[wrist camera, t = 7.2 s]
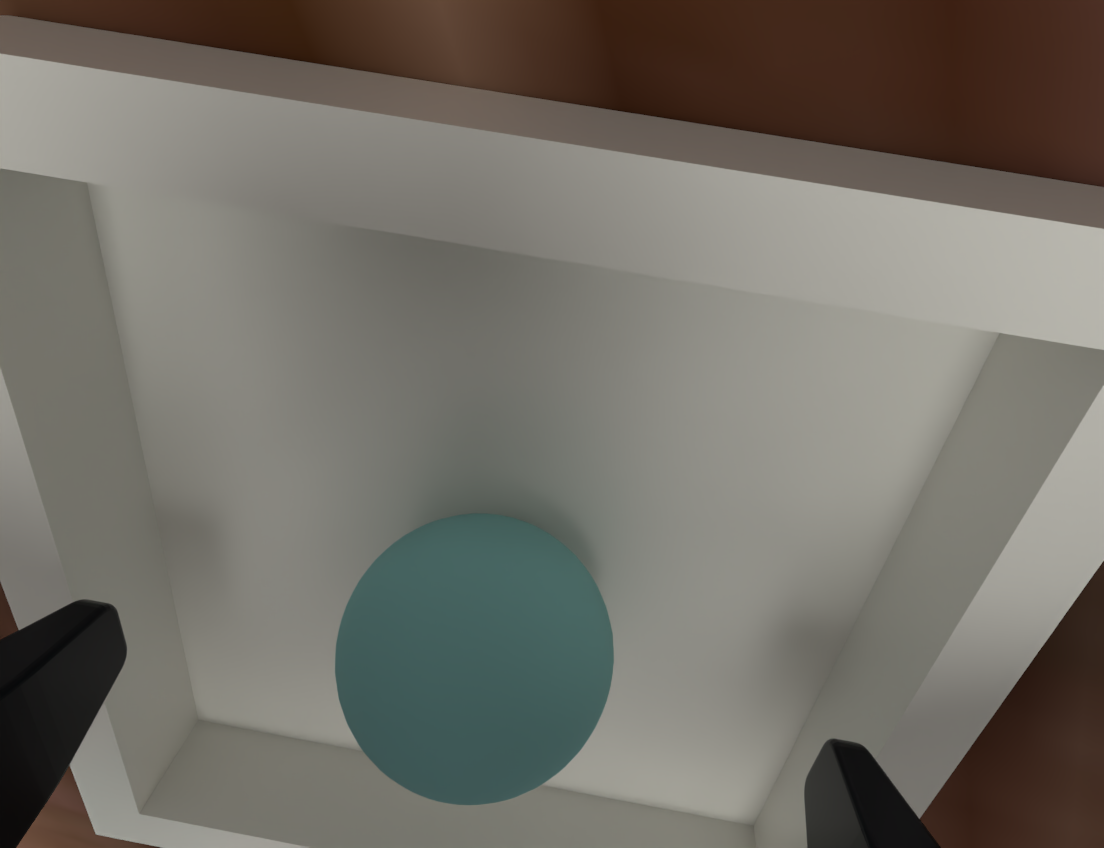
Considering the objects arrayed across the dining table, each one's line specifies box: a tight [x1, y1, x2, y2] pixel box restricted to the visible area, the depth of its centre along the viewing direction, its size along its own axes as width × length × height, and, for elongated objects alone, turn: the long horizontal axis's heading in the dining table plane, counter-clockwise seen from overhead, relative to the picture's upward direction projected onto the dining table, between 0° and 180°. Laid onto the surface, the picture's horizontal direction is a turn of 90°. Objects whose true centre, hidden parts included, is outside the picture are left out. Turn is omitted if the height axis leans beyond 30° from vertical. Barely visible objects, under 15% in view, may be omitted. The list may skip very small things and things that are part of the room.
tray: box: [0, 16, 1104, 848], centre depth 10 cm, size 13×13×2 cm
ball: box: [335, 513, 614, 805], centre depth 9 cm, size 4×4×4 cm
